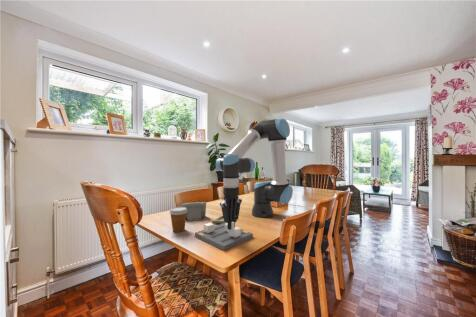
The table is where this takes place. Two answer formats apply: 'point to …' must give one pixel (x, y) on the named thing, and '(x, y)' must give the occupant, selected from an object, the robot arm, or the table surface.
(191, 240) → the table surface
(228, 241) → the switch bank
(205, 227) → the tab
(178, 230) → the disposable coffee cup
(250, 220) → the table surface
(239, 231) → the tab
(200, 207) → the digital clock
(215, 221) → the olive shallow tray
